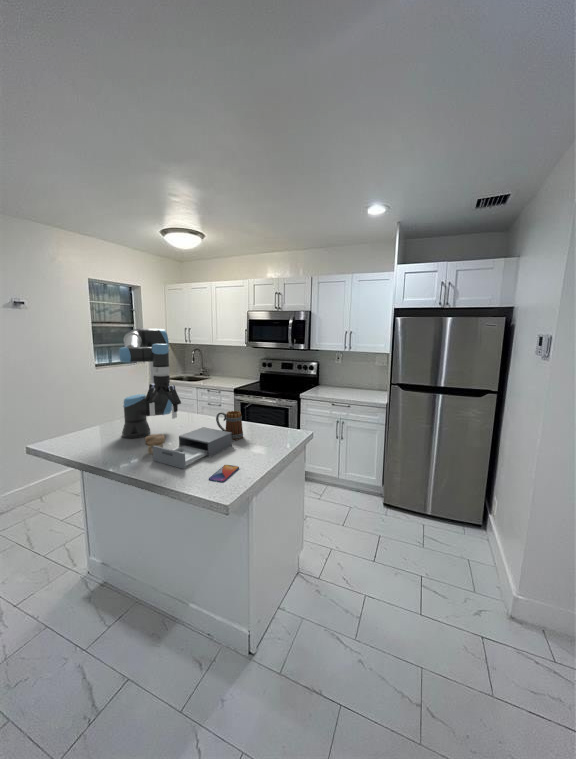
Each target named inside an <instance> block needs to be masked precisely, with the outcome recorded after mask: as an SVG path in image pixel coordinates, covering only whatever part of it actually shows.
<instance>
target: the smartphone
mask: <svg viewBox="0 0 576 759" xmlns="http://www.w3.org/2000/svg"><path fill="white" fill-rule="evenodd" d="M239 469H240V466H238V465H234V464H233V465H230V464H224V465H223V466H221V467H220V468H218V470H217V471H215V472H214V473H213V474H211V476H210V477H208V480H209V482H216V481H217V482H216V483H225V482H226V481H227V480H229V479H230V478H231V477H232V476H233V475H234V474H235V473H236V472H237V471H239Z"/></svg>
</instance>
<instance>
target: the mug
mask: <svg viewBox="0 0 576 759" xmlns="http://www.w3.org/2000/svg"><path fill="white" fill-rule="evenodd" d="M220 415H223V416H224V418H223V419H222V421H223V422H225V428H224V427H223V426H222V425H221V423H220V420H219V418H220V417H219V416H220ZM215 419H216V420H215V422H216V426H218V428H219V430H221V431H226V432H232V441H239V440H241V439H243V437H244V430H243V420H242V419H243V416H242V412H241V411H239V410H230V411H226V412H223V411H221V412H218V413H217V414H216V416H215Z"/></svg>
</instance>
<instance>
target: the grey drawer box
mask: <svg viewBox="0 0 576 759" xmlns="http://www.w3.org/2000/svg"><path fill="white" fill-rule="evenodd" d="M178 445H179V446H181V445H184V446H189V447H193V448H197V449H201V450H206V451H208V455H206V456H205V458H211V457H213V456H215V455H217V454H219V453H221V452H222V451H225V450H227V449H229V448H232V446H233V440H232V432H226V431H222V430H221V429H215V428H209V427H204V426H202V427H199V428H197V429H194V430H191V431H189V432H185V433H183V434H181V435H178Z"/></svg>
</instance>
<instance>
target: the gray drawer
mask: <svg viewBox="0 0 576 759" xmlns="http://www.w3.org/2000/svg"><path fill="white" fill-rule="evenodd" d="M206 455H208V451H206V450H201V449H197V448H193V447H189V446H184V445H181V446H176V447H173V448H167V447H164V446H163V447H159V446H155V445H154V446H153V454H152V461H153V462H154V461H155V462H158V463H161V464H165V465H168V466H173V467H175V468H180V469H183V470H185V469H186V467H187V466H186V465H189V464H191V463H192V462H193V463H194V462H196V461H197V460H200V459H201V458H204V457H206Z"/></svg>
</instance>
